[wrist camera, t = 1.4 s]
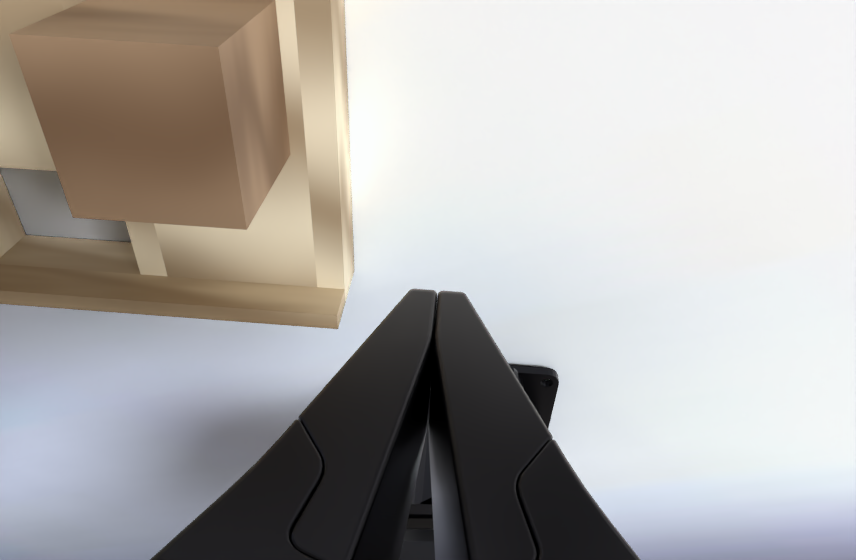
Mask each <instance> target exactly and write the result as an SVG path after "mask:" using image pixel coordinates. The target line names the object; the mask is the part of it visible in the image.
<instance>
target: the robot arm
mask: <svg viewBox="0 0 856 560" xmlns="http://www.w3.org/2000/svg"><path fill="white" fill-rule="evenodd" d="M436 307H437V308H436ZM544 379H550V380H547V381H545V380H544ZM558 385H559V381H558V374H557V373H556V371H555V370H553V369H550V368H540V367H527V366H514V365H509V364H508V363H507V361H506V360H505V358H504V356H503V355H502V353H501V351H500V350H499V348H498V346H497V345H496V343H495V342H494V340H493V338H492V337H491V335H490V333H489V332H488V330H487V328H486V327H485V325H484V324H483V322H482V320H481V319H480V317H479V315H478V314H477V312H476V310H475V309H474V307H473V306H472V304H471V302H470V301H469V299H468V297H467V296H466V294H464V293H463V292H452V291H441V292H439V293H438V298H437V293H436V291H434V290H424V289H411V290H410V291H409V292H408V293H407V294H406V295H405V296H404V297H403V299H402V300H401V301H400V302H399V303H398V304H397V305H396V306H395V308H394V309H393V310H392V311H391V312H390V313H389V314H388V316H387V317H386V318H385V319H384V320H383V321H382V322H381V324H380V325H379V326H378V327H377V328H376V329H375V330H374V332H373V333H372V334H371V335H370V336H369V337H368V338H367V339H366V341H365V342H364V343H363V344H362V345H361V346H360V347H359V349H358V350H357V351H356V352H355V353H354V354H353V355H352V357H351V358H350V359H349V360H348V361H347V362H346V363H345V365H344V366H343V367H342V368H341V369H340V370H339V371H338V372H337V374H336V375H335V376H334V377H333V378H332V379H331V380H330V382H329V383H328V384H327V385H326V386H325V387H324V388H323V390H322V391H321V392H320V393H319V394H318V395H317V396H316V398H315V399H314V400H313V401H312V402H311V403H310V404H309V405H308V407H307V408H306V409H305V410H304V411H303V412H302V413H301V415H300V416H299V420H295V421H294V422H293V423H292V424H291V426H290V427H289V428H288V429H287V430H286V431H285V432H284V434H283V435H282V436H281V437H280V438H279V439H278V440H277V441H276V442H275V444H274V445H273V446H272V447H271V448H270V449H269V450H268V451H267V452H266V453H265V454H264V455H263V456H262V457H261V458H260V459H259V461H258V462H257V463H256V464H255V465H253V466H252V467H251V468H250V469H249V470H248V471H247V472H246V473H245V474H244V475H243V476H242V477H241V478H240V479H239V480H238V481H237V482H235V483H234V484H233V485H232V486H231V487H230V488H229V489H228V490H227V491H226V492H225V493H224V494H223V495H221V496H220V497H219V498H218V499H217V500H216V501H215V502H214V503H213V504H211V505H210V506H209V507H208V508H207V509H206V510H205V511H204V512H203V513H201V514H200V515H199V516H198V517H197V518H196V519H195V520H194V521H193V522H191V523H190V524H189V525H188V526H187V527H186V528H185V529H184V530H183V531H181V532H180V533H179V534H178V535H177V536H176V537H175V538H174V539H173V540H171V541H170V542H169V543H168V544H167V545H166V546H165V547H164V548H163V549H161V550H160V551H159V552H158V553H157V554H156V555H155V556H154V557H152V558H151V559H150V560H640V558H639V557H638V556H637V555H636V553H635V552H634V551H633V549H632V548H631V547H630V546H629V544H628V543H627V542H626V541H625V539H624V538H623V537H622V536H621V534H620V533H619V532H618V531H617V529H616V528H615V527H614V525H613V524H612V523H611V522H610V520H609V519H608V518H607V516H606V515H605V514H604V512H603V511H602V510H601V508H600V507H599V506H598V504H597V503H596V502H595V500H594V499H593V498H592V496H591V495H590V494H589V492H588V491H587V490H586V488H585V487H584V485H583V484H582V482H581V481H580V479H579V478H578V476H577V475H576V473H575V471H574V470H573V468H572V467H571V465H570V464H569V462H568V461H567V459H566V458H565V456H564V454H563V453H562V451H561V449H560V448H559V446H558V444H557V443H556V441H555V440H552V435H551V433H550V432H549V430H548V427H549V423H550V418H551V414H552V410H553V406H554V401H555V397H556V393H557V389H558Z"/></svg>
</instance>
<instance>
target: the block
mask: <svg viewBox="0 0 856 560" xmlns="http://www.w3.org/2000/svg"><path fill="white" fill-rule="evenodd" d="M9 36H10V39H11V42H12V45H13V48H14V51H15V53H16V56H17V59H18V62H19V65H20V68H21V71H22V73H23V76H24V79H25V82H26V85H27V88H28V91H29V94H30V96H31V99H32V102H33V105H34V108H35V111H36V114H37V116H38V119H39V122H40V125H41V128H42V131H43V134H44V137H45V139H46V142H47V145H48V148H49V151H50V154H51V157H52V159H53V162H54V165H55V168H56V171H57V174H58V177H59V180H60V182H61V185H62V188H63V191H64V194H65V197H66V200H67V202H68V205H69V208H70V211H71V214H72V217H73V218H86V219H100V220H114V221H128V222H143V223H157V224H171V225H185V226H199V227H214V228H228V229H242V230H247V229H248V227H249V225H250V224H251V222H252V220H253V218H254V217H255V215H256V213H257V212H258V210H259V208H260V206H261V205H262V203H263V201H264V199H265V198H266V196H267V194H268V193H269V191H270V189H271V187H272V186H273V184H274V182H275V181H276V179H277V177H278V175H279V174H280V172H281V170H282V169H283V167H284V165H285V163H286V162H287V160H288V158H289V156H290V155H291V154H290V144H289V133H288V123H287V113H286V103H285V93H284V83H283V73H282V63H281V52H280V42H279V32H278V22H277V12H276V2H275V0H86V1H84V2H82V3H79V4H77V5H75V6H73V7H70V8H68V9H66V10H63V11H61V12H59V13H56V14H54V15H52V16H49V17H47V18H45V19H42V20H40V21H38V22H35V23H33V24H31V25H28V26H26V27H24V28H21V29H19V30H17V31H14V32H12V33H10V34H9Z"/></svg>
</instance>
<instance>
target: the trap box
mask: <svg viewBox="0 0 856 560" xmlns="http://www.w3.org/2000/svg"><path fill="white" fill-rule="evenodd" d="M84 1H86V0H0V167H1V168H16V169H30V170H45V171H56V168H55V165H54V162H53V159H52V157H51V154H50V151H49V148H48V145H47V142H46V139H45V137H44V134H43V131H42V128H41V125H40V122H39V119H38V116H37V114H36V111H35V108H34V105H33V102H32V99H31V96H30V94H29V91H28V88H27V85H26V82H25V79H24V76H23V73H22V71H21V68H20V65H19V62H18V59H17V56H16V53H15V51H14V48H13V45H12V42H11V39H10V36H9V34H10V33H12V32H14V31H17V30H19V29H21V28H24V27H26V26H28V25H31V24H33V23H35V22H38V21H40V20H42V19H45V18H47V17H49V16H52V15H54V14H56V13H59V12H61V11H63V10H66V9H68V8H70V7H73V6H75V5H77V4H79V3H82V2H84ZM275 2H276V12H277V22H278V32H279V42H280V52H281V63H282V73H283V83H284V93H285V103H286V113H287V123H288V133H289V144H290V154H291V155H290V156H289V158H288V160H287V162H286V163H285V165H284V167H283V169H282V170H281V172H280V174H279V175H278V177H277V179H276V181H275V182H274V184H273V186H272V187H271V189H270V191H269V193H268V194H267V196H266V198H265V199H264V201H263V203H262V205H261V206H260V208H259V210H258V212H257V213H256V215H255V217H254V218H253V220H252V222H251V224H250V225H249V227H248V229H247V230H242V229H228V228H214V227H199V226H185V225H171V224H157V223H143V222H128V221H125V222H126V226H127V229H128V233H129V236H130V239H131V242H119V241H105V240H91V239H77V238H63V237H49V236H35V235H26V234H25V232H24V229H23V227H22V224H21V222H20V219H19V217H18V214H17V212H16V210H15V207H14V205H13V202H12V200H11V197H10V195H9V192H8V190H7V188H6V185H5V183H4V180H3V178H2V175H1V173H0V304H11V305H25V306H38V307H51V308H65V309H78V310H91V311H105V312H118V313H132V314H145V315H158V316H172V317H185V318H199V319H212V320H225V321H239V322H252V323H265V324H279V325H292V326H306V327H319V328H332V329H338V327H339V323H340V320H341V316H342V312H343V309H344V305H345V302H346V298H347V295H348V291H349V288H350V284H351V280H352V277H353V273H354V251H353V224H352V197H351V170H350V143H349V116H348V89H347V62H346V35H345V8H344V0H275Z"/></svg>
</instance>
